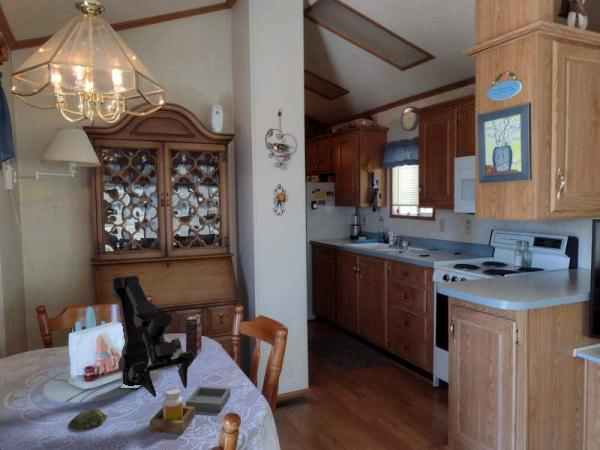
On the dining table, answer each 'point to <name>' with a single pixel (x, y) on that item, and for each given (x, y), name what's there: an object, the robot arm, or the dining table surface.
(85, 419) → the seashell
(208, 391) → the charcoal tray
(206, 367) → the dining table surface
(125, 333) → the robot arm
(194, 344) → the supplement box
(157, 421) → the walnut collar
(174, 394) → the supplement bottle
